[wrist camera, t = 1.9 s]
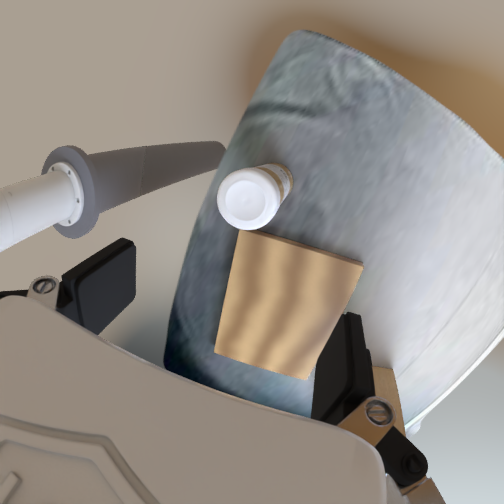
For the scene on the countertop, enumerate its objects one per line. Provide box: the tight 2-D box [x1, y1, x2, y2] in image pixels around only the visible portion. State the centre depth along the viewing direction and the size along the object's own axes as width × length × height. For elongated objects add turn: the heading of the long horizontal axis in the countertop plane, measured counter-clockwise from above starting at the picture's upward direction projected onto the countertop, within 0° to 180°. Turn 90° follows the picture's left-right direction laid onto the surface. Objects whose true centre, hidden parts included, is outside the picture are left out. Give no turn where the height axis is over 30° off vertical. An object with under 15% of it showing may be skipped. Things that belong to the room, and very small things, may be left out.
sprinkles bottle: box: [217, 163, 293, 230], centre depth 26 cm, size 5×5×13 cm
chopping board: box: [214, 229, 364, 380], centre depth 38 cm, size 16×22×2 cm
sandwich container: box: [372, 366, 406, 437], centre depth 35 cm, size 9×15×15 cm, turn 170°
